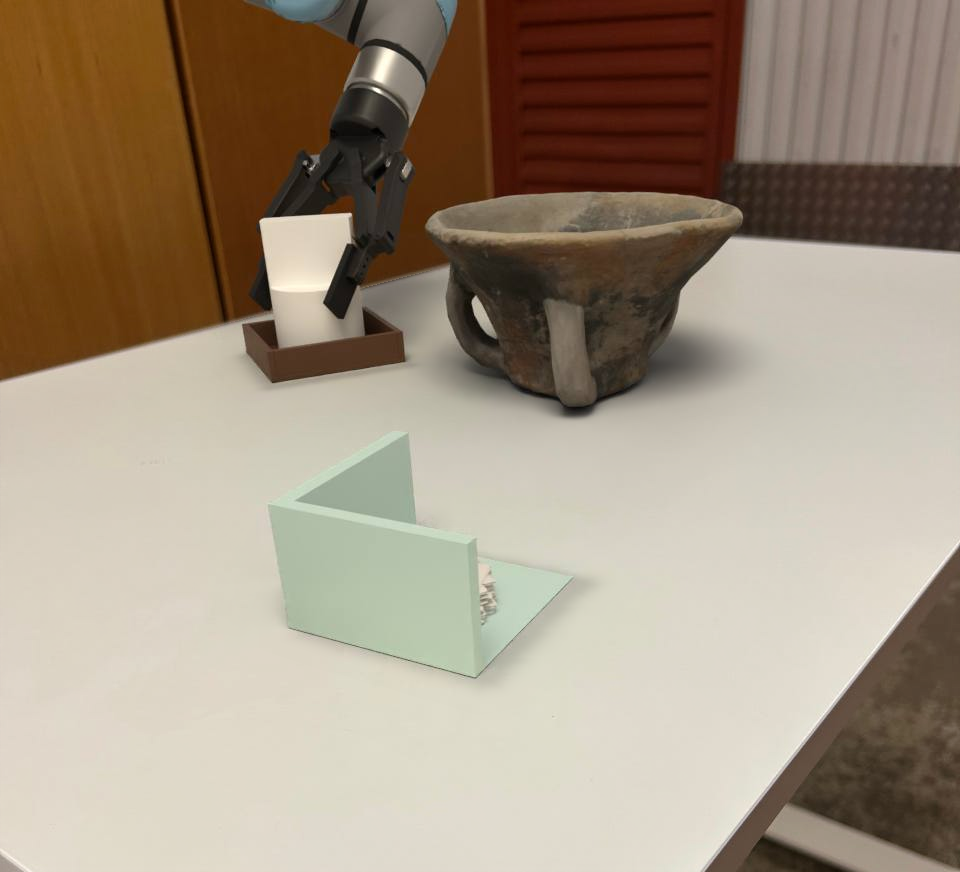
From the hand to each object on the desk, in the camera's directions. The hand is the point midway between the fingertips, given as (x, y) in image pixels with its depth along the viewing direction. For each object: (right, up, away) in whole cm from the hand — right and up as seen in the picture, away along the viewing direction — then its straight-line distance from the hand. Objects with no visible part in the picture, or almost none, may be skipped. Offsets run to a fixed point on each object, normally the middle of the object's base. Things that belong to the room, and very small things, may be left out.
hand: (295, 307), depth 98 cm
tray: (+2, -3, +5) cm, 7 cm away
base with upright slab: (+2, -2, +5) cm, 5 cm away
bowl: (+28, -9, -5) cm, 30 cm away
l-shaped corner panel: (+16, -31, -40) cm, 53 cm away
